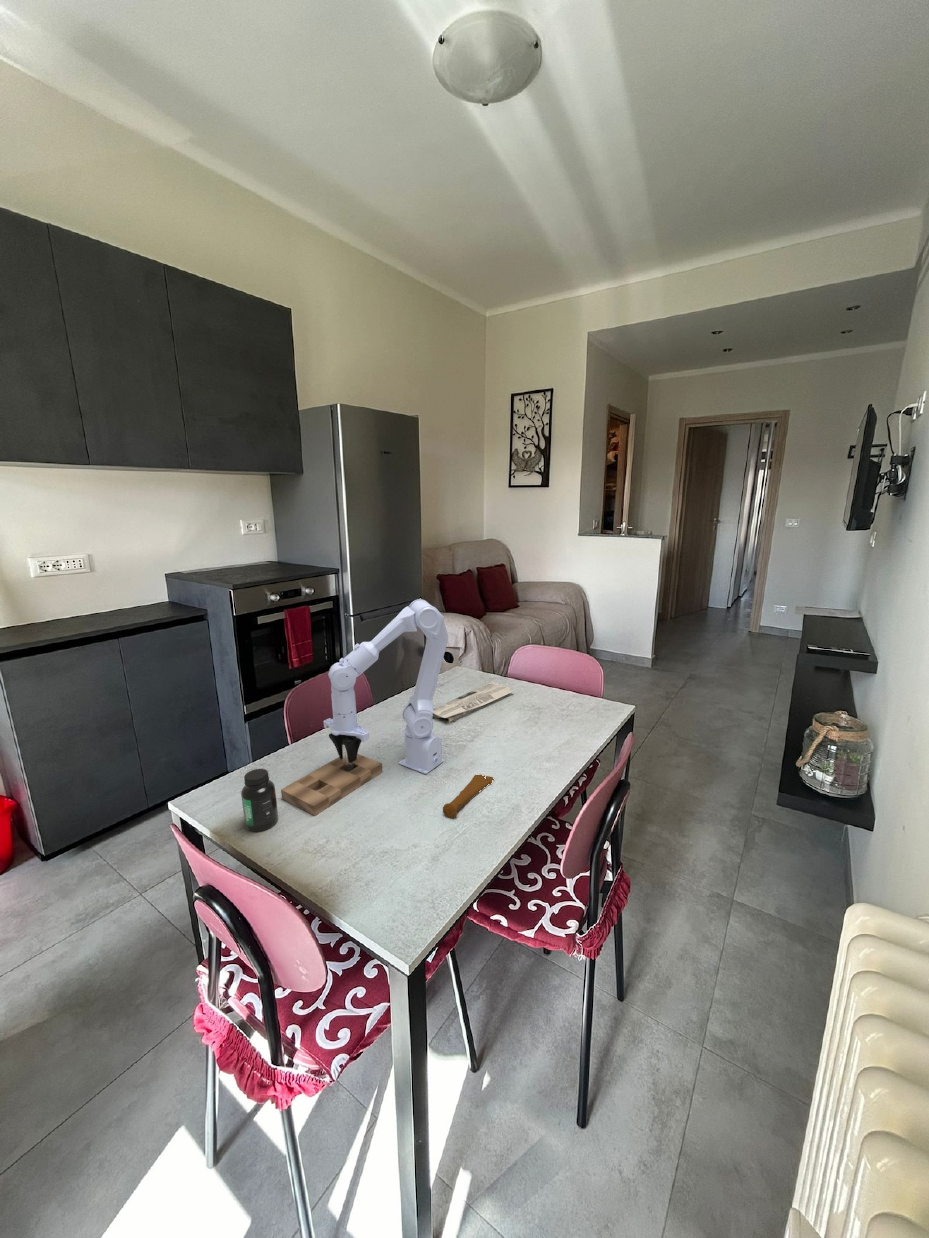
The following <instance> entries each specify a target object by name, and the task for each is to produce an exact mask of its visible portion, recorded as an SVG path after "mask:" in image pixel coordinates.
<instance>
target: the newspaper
mask: <svg viewBox="0 0 929 1238" xmlns="http://www.w3.org/2000/svg"><path fill="white" fill-rule="evenodd" d="M513 692H514V691H513V690H512V689H511V688H510V687H509V686H507V685H502V684H501V683H497V682H489V683H487V684H483V685H482V686H480V687H478V688H475V689H473V690H471V691H469V692H467V693H465V694H463V695H461V696H458V697H456V698H454V699H452V700H449V701H447V702H446V703H444V704H442V705H439V706H436V707H435V708H434V707H433V717H434V718H437V719H439V718H444V719H448V721H447V723H446V724H448V723H450V722H452V721H455V720H456V719H458V718H460V717H462V716H464V715H467V714H468V713H471V712H473V711H474V710H477V709H478V708H481V707H483V706H486V704H489V703H491V702H494V701H496V700H498V699H500V698H502V697H505V696H506V695H509V694H511V693H513ZM433 717H432V718H433Z"/></svg>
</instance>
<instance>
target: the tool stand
mask: <svg viewBox="0 0 929 1238" xmlns="http://www.w3.org/2000/svg"><path fill="white" fill-rule="evenodd" d="M383 772H384V771H383V763H382V762H381V761H378V760H377V761H376V760H375V759H373V758H369V757H367V756H364V755H362V754H359V753H358V754H357V759H356V760H355V761H354V769H353V770H351V771H349V772H347V771H345V770H344V766H343V759H340V757H339V756H338V757H337V758H334V759H333V760H331V761H329V762H327V763H326V764H324V765H322V766H320V767H318V768H317V769H315V770H314V771H311V772H309V773H308V774H306V775H304V776H302V777H301V778H299V779H298V780H295V781H294V782H292V783H290V784H289V785H286V786H285V787H283V788H281V789H280V793H281V794H280V796H281V799H282V800H283V801H285V802H286V803H287V802H288V803H290V804H291V805H293V806H295V807H297V808H299V809H301V810H303V811H304V812H307V813H308V814H310V815H312V816H314V817H315V816H318V814H320V813H322V812H323V811H324V810H327V809H329V808H330V807H331V806H333V805H334V804H336V803H337V802H339V801H340V800H342V799H343V798H346V797H347V796H348V795H350V794H351V793H353V792H354V791H356V790H357V789H358V788H360V787H361V786H364V785H365V784H366V783H368V782H370V781H371V780H372V779H374V778H376V777H377V776H378V775H380V774H382V773H383Z"/></svg>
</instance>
